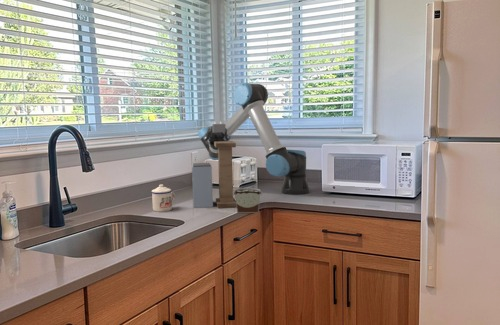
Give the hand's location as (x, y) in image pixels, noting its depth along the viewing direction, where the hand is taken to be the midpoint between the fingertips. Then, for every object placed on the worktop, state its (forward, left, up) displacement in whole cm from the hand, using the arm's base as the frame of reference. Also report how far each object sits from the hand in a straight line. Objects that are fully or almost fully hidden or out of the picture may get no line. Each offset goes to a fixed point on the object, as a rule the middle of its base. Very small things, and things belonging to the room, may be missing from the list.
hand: (217, 123), depth 224 cm
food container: (-16, +33, -39) cm, 53 cm away
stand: (-5, +19, -38) cm, 43 cm away
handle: (0, +2, -4) cm, 4 cm away
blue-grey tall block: (+6, +18, -38) cm, 43 cm away
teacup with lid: (+23, +27, -38) cm, 52 cm away
